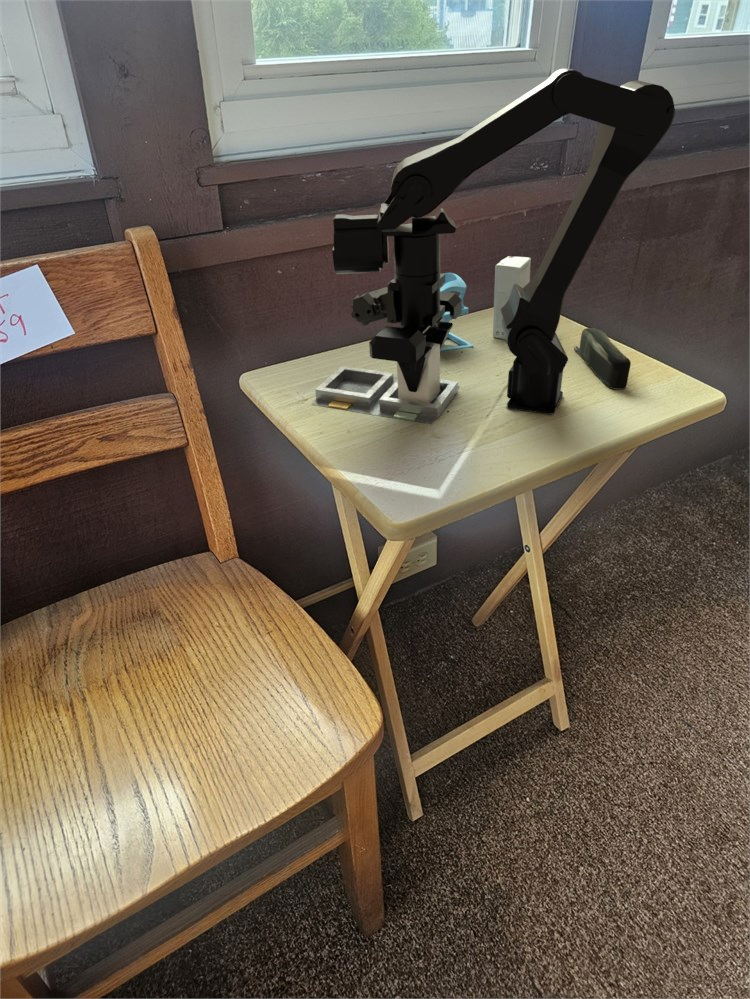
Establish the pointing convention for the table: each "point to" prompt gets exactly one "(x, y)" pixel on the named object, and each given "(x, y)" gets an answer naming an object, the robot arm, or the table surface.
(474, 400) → the table surface
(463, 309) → the chair
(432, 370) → the plug
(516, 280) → the skincare box
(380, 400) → the grey double tray
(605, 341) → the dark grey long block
